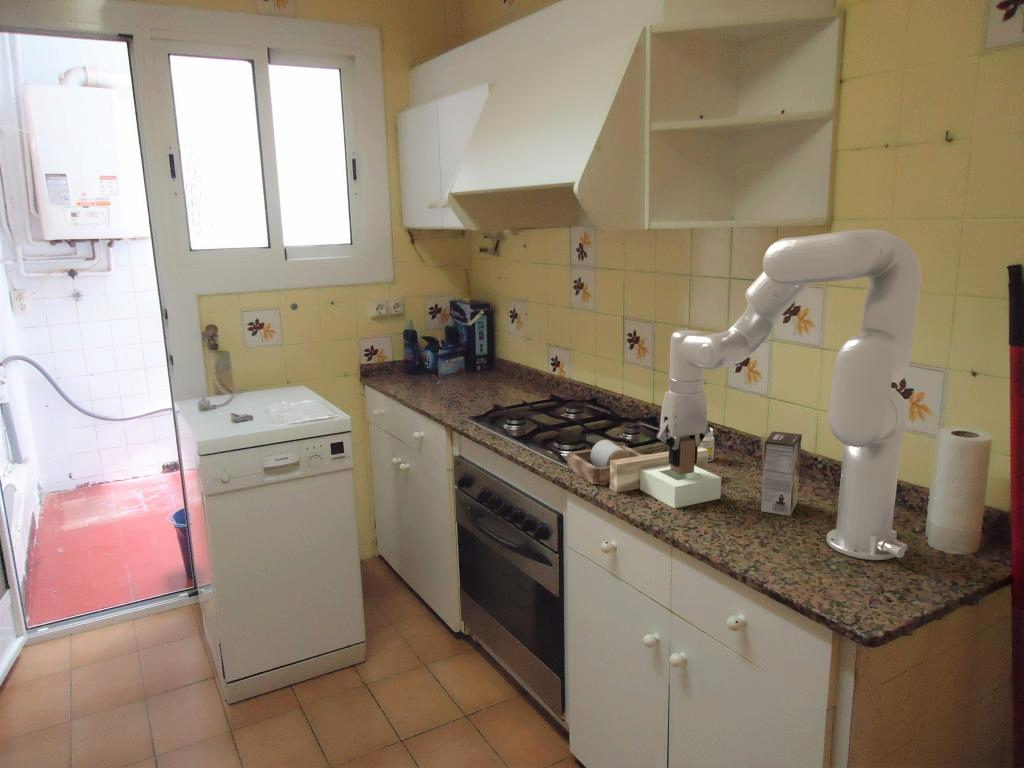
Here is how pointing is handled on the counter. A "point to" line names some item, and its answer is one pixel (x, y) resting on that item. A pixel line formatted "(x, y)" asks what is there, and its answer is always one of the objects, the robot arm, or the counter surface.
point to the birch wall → (628, 469)
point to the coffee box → (781, 473)
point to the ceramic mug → (606, 453)
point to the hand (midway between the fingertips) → (682, 462)
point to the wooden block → (685, 456)
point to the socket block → (680, 485)
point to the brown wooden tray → (587, 470)
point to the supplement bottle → (708, 444)
